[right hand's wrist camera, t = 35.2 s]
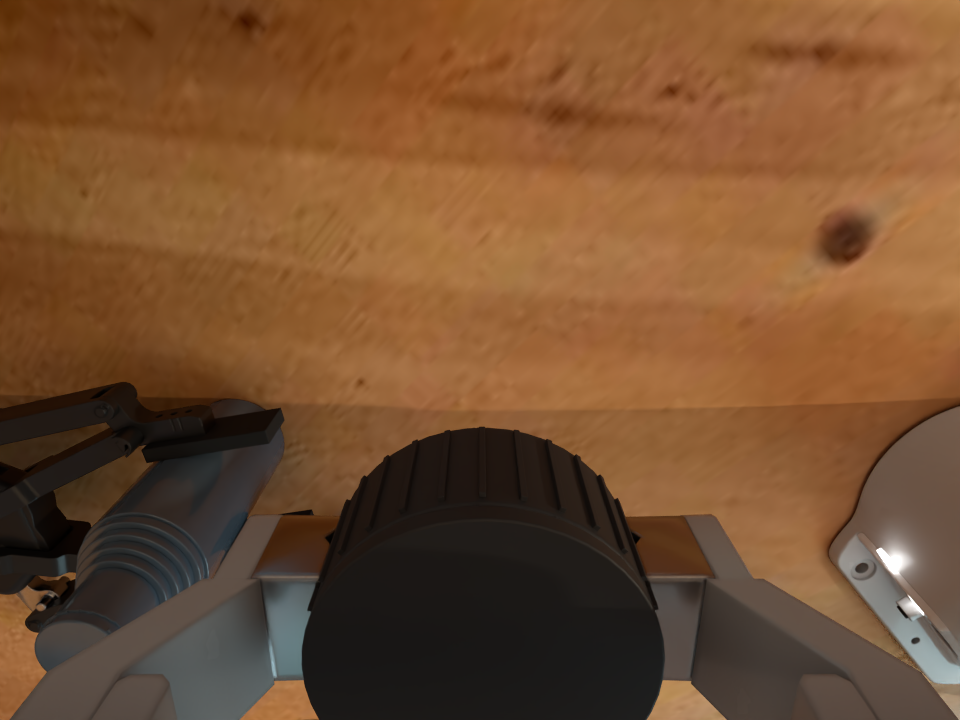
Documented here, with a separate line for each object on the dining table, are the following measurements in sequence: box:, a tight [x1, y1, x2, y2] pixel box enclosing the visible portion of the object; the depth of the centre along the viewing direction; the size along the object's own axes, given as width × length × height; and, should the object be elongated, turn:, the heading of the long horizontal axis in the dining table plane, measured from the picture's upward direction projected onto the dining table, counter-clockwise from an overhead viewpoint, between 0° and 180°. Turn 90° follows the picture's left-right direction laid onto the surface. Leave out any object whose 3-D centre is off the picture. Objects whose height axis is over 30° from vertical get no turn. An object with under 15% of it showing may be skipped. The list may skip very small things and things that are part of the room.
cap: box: [302, 427, 665, 720], centre depth 9 cm, size 5×5×2 cm
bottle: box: [35, 399, 284, 672], centre depth 33 cm, size 6×6×18 cm
